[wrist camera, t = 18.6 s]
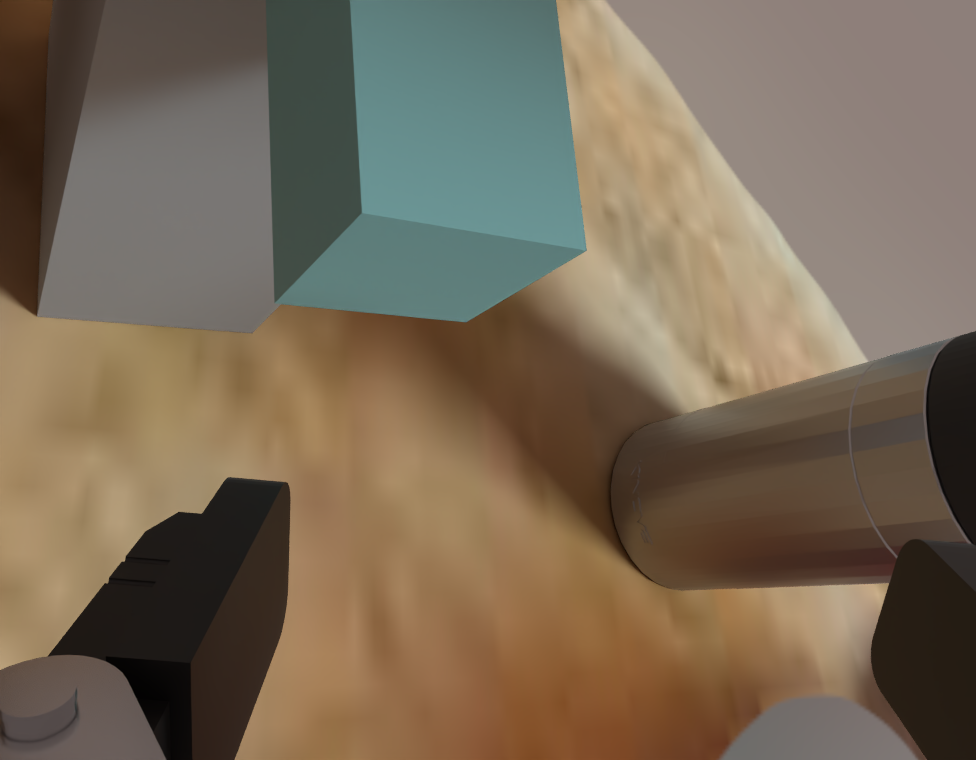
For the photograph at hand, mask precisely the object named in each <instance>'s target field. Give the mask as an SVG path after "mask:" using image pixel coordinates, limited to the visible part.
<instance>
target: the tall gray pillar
mask: <svg viewBox="0 0 976 760" xmlns="http://www.w3.org/2000/svg"><path fill="white" fill-rule="evenodd" d="M280 305H281V304H275V303H274V269H273V234H272V199H271V165H270V130H269V95H268V61H267V26H266V0H53V7H52V14H51V22H50V29H49V41H48V65H47V89H46V113H45V137H44V161H43V185H42V209H41V234H40V258H39V282H38V306H37V317H50V318H63V319H76V320H89V321H102V322H115V323H127V324H140V325H153V326H166V327H179V328H192V329H205V330H218V331H231V332H244V333H253V332H254V331H255V330H256V329H257V328H258V327H259V326H260V325H261V324H262V323H263V322H264V321H265V320H266V319H267V318H268V317H269V316H270V315H271V314H272V313H273V312H274V311H275V310H276V309H277V308H278V307H279V306H280Z"/></svg>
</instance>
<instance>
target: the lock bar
mask: <svg viewBox="0 0 976 760" xmlns="http://www.w3.org/2000/svg"><path fill="white" fill-rule="evenodd" d="M266 26H267V61H268V95H269V130H270V165H271V199H272V234H273V269H274V303H275V304H285V305H295V306H305V307H315V308H325V309H336V310H346V311H356V312H366V313H376V314H387V315H397V316H407V317H417V318H427V319H438V320H448V321H458V322H467V321H469V320H471V319H473V318H474V317H476V316H478V315H479V314H481V313H483V312H484V311H486V310H488V309H489V308H491V307H493V306H494V305H496V304H498V303H499V302H501V301H503V300H504V299H506V298H508V297H509V296H511V295H513V294H514V293H516V292H518V291H520V290H521V289H523V288H525V287H526V286H528V285H530V284H531V283H533V282H535V281H536V280H538V279H540V278H541V277H543V276H545V275H546V274H548V273H550V272H551V271H553V270H555V269H556V268H558V267H560V266H562V265H563V264H565V263H567V262H568V261H570V260H572V259H573V258H575V257H577V256H578V255H580V254H582V253H583V252H585V251H587V249H586V241H585V233H584V225H583V217H582V209H581V200H580V192H579V184H578V176H577V168H576V160H575V152H574V144H573V135H572V127H571V119H570V111H569V103H568V95H567V87H566V79H565V70H564V62H563V54H562V46H561V38H560V30H559V22H558V14H557V5H556V0H266Z"/></svg>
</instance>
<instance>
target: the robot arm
mask: <svg viewBox="0 0 976 760" xmlns="http://www.w3.org/2000/svg"><path fill="white" fill-rule="evenodd" d="M611 507H612V512H613V517H614V522H615V526H616V529H617V532H618V534H619V537H620V540H621V542H622V544H623V546H624V548H625V550H626V551H627V553H628V555H629V556H630V558H631V560H632V561H633V562H634V563H635V564H636V566H637V567H638V568H639V569H640V570H641V571H642V573H644V574H645V575H646V576H648V577H649V578H650V579H651V580H653V581H654V582H656V583H658V584H660V585H662V586H664V587H667V588H670V589H676V590H708V589H743V588H770V587H798V586H825V585H852V584H879V583H889V586H888V590H887V593H886V596H885V600H884V603H883V606H882V609H881V613H880V616H879V619H878V623H877V626H876V629H875V633H874V636H873V640H872V646H871V663H872V669H873V674H874V677H875V680H876V683H877V685H878V687H879V689H880V691H881V692H882V694H883V695H884V697H885V698H886V700H887V701H888V703H889V704H890V706H891V707H892V709H893V710H894V711H895V713H896V714H897V716H898V717H899V719H900V720H901V722H902V723H903V725H904V726H905V728H906V729H907V731H908V732H909V733H910V735H911V736H912V738H913V739H914V741H915V742H916V744H917V745H918V747H919V748H920V750H921V751H922V752H923V754H924V755H925V757H926V758H927V760H976V331H975V332H971V333H968V334H964V335H961V336H958V337H953V338H950V339H947V340H943V341H939V342H936V343H932V344H929V345H925V346H922V347H919V348H915V349H911V350H908V351H904V352H901V353H897V354H894V355H890V356H887V357H884V358H881V359H878V360H874V361H870V362H867V363H863V364H860V365H856V366H853V367H849V368H846V369H842V370H839V371H835V372H832V373H828V374H825V375H821V376H817V377H814V378H810V379H807V380H803V381H800V382H796V383H793V384H789V385H786V386H782V387H779V388H775V389H772V390H768V391H765V392H761V393H758V394H754V395H751V396H747V397H743V398H740V399H736V400H733V401H729V402H726V403H722V404H719V405H715V406H712V407H708V408H704V409H700V410H697V411H693V412H690V413H687V414H683V415H680V416H676V417H673V418H669V419H666V420H662V421H659V422H655V423H652V424H648V425H646V426H644V427H642V428H641V429H639V430H637V431H636V432H635V433H634V434H633V435H632V436H631V437H630V438H629V439H628V440H627V441H626V442H625V444H624V446H623V447H622V449H621V451H620V453H619V454H618V457H617V460H616V463H615V466H614V469H613V474H612V482H611ZM289 533H290V489H289V485H288V483H287V482H277V481H266V480H255V479H243V478H232V477H228V478H227V479H226V480H225V481H224V482H223V484H222V485H221V487H220V488H219V490H218V491H217V493H216V494H215V496H214V497H213V499H212V500H211V501H210V503H209V504H208V506H207V507H206V509H205V510H204V512H203V513H202V514H197V513H185V512H178V513H176V514H175V515H173V516H171V517H169V518H168V519H166V520H164V521H163V522H161V523H159V524H158V525H156V526H154V527H152V528H151V529H149V530H147V531H146V532H145V533H144V534H143V535H142V537H141V538H140V539H139V540H138V542H137V543H136V544H135V545H134V547H133V548H132V549H131V551H130V552H129V553H128V554H127V556H126V559H125V562H121V563H120V565H119V566H118V567H117V568H116V570H115V571H114V572H113V574H112V575H111V576H110V577H109V582H108V584H106V583H105V584H104V585H103V586H102V588H101V589H100V590H99V591H98V593H97V594H96V595H95V597H94V598H93V599H92V600H91V602H90V603H89V604H88V606H87V607H86V608H85V609H84V611H83V612H82V613H81V614H80V616H79V617H78V618H77V620H76V621H75V622H74V623H73V625H72V626H71V627H70V629H69V630H68V631H67V632H66V634H65V635H64V636H63V637H62V639H61V640H60V641H59V643H58V644H57V645H56V646H55V648H54V649H53V650H52V652H51V653H50V654H49V655H48V657H41V658H36V659H32V660H28V661H24V662H21V663H18V664H15V665H12V666H9V667H6V668H4V669H2V670H0V760H234V759H235V757H236V754H237V751H238V749H239V746H240V743H241V741H242V738H243V735H244V733H245V730H246V727H247V725H248V722H249V719H250V717H251V714H252V711H253V709H254V706H255V703H256V701H257V698H258V695H259V693H260V690H261V687H262V685H263V682H264V679H265V677H266V674H267V671H268V669H269V666H270V663H271V661H272V658H273V655H274V653H275V650H276V647H277V645H278V642H279V639H280V636H281V632H282V628H283V623H284V618H285V612H286V606H287V596H288V571H289Z"/></svg>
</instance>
